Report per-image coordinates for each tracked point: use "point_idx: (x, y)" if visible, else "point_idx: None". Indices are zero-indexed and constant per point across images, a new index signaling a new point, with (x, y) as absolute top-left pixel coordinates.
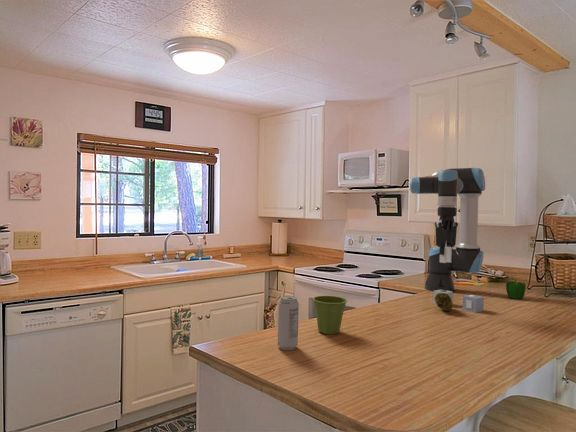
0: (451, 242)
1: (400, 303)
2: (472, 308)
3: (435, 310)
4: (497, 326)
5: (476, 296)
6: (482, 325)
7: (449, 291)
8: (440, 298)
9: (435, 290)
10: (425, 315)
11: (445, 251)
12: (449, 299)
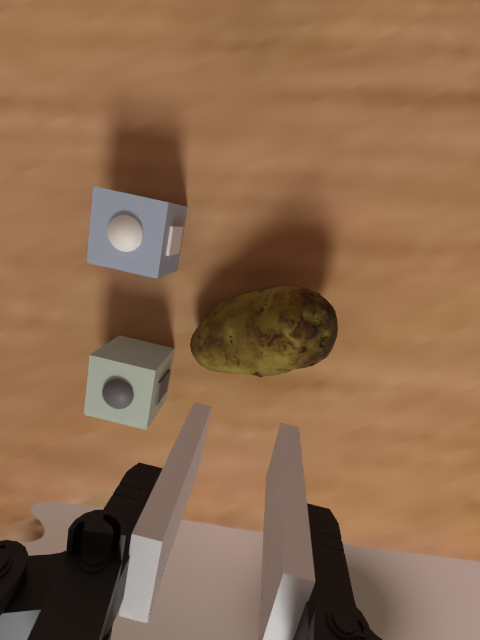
0: (90, 631)
1: None
2: (180, 222)
3: None
4: (390, 24)
5: (125, 215)
6: (420, 87)
7: (98, 369)
8: (336, 330)
9: (132, 425)
10: (405, 342)
11: (307, 523)
12: (306, 294)
